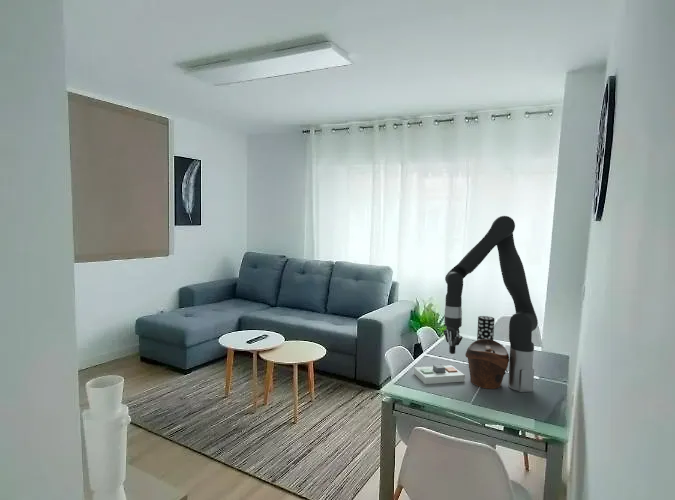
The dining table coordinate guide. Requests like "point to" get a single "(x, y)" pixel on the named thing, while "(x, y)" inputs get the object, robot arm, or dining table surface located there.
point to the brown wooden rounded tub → (487, 363)
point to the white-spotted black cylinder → (485, 328)
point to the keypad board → (439, 375)
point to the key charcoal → (438, 368)
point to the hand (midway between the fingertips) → (452, 353)
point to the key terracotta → (450, 369)
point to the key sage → (426, 371)
